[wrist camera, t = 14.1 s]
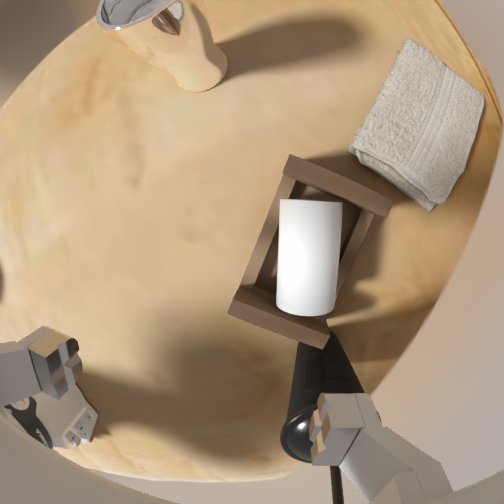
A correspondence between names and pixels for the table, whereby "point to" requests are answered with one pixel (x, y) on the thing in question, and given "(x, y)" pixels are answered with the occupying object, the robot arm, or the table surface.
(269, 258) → the cradle
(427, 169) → the washcloth
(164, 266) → the table surface
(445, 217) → the table surface
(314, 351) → the drinking cup
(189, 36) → the silver tumbler
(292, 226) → the roll
